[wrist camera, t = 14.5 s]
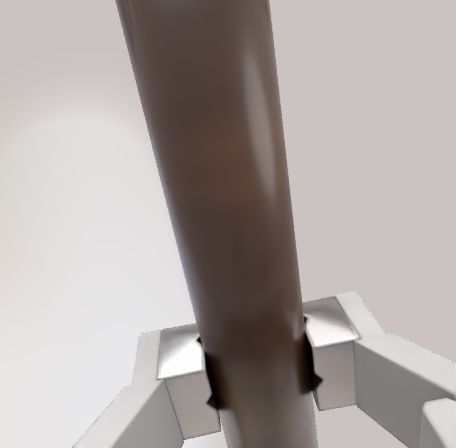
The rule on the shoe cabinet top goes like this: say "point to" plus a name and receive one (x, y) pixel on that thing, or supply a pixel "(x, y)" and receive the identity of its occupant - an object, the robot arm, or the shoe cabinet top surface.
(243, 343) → the brown wooden rod
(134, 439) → the robot arm
